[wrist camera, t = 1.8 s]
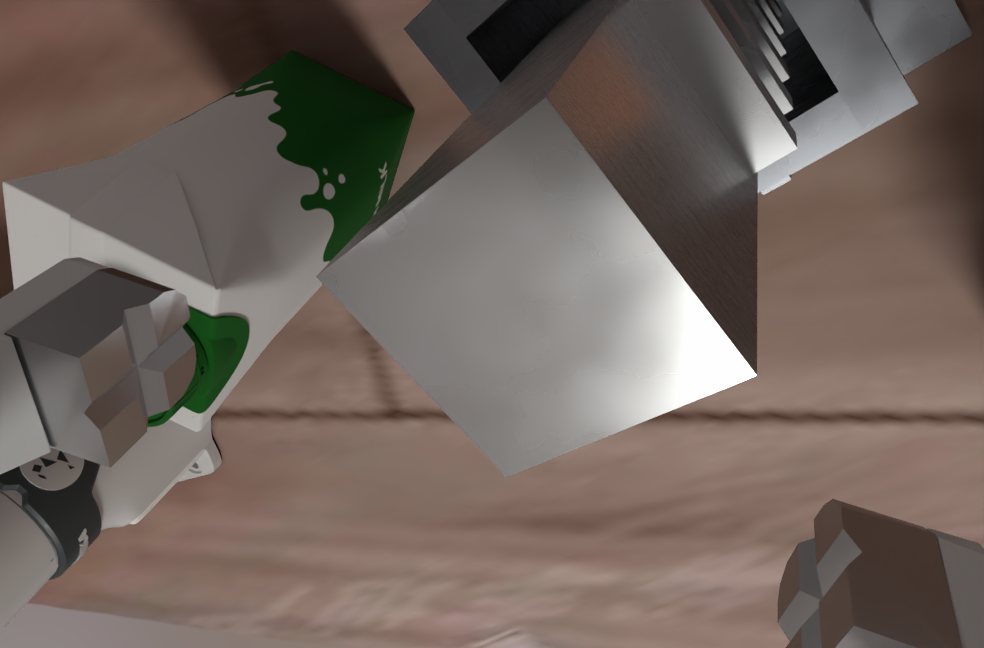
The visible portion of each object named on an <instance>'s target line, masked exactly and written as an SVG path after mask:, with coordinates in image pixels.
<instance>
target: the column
mask: <svg viewBox="0 0 984 648" xmlns="http://www.w3.org/2000/svg"><path fill="white" fill-rule="evenodd" d="M778 1H779V0H579V2H578V3H577V4H576V5H575V6H574V7H573V8H572V9H571V10H570V11H569V12H568V13H567V14H566V15H565V16H564V17H563V18H562V19H561V20H560V21H559V22H558V24H557V25H556V26H555V27H554V28H553V29H552V30H551V31H550V32H549V33H548V34H547V35H546V36H545V37H544V38H543V39H542V40H541V41H540V42H539V43H538V44H537V45H536V47H535V48H534V49H533V50H532V51H531V52H530V53H529V54H528V55H527V56H526V57H525V58H524V59H523V60H522V61H521V62H520V63H519V64H518V65H517V66H516V67H515V69H514V70H513V71H512V72H511V73H510V74H509V75H508V76H507V77H506V78H505V79H504V80H503V81H502V82H501V83H500V84H499V85H498V86H497V87H496V88H495V89H494V91H493V92H492V93H491V94H490V95H489V96H488V97H487V98H486V99H485V100H484V101H483V102H482V103H481V104H480V105H479V106H478V107H477V108H476V109H475V110H474V111H473V113H472V114H471V115H470V116H469V117H468V118H467V119H466V120H465V121H464V122H463V123H462V124H461V125H460V126H459V127H458V128H457V129H456V130H455V131H454V132H453V133H452V135H451V136H450V137H449V138H448V139H447V140H446V141H445V142H444V143H443V144H442V145H441V146H440V147H439V148H438V149H437V150H436V151H435V152H434V153H433V154H432V155H431V156H430V158H429V159H428V160H427V161H426V162H425V163H424V164H423V165H422V166H421V167H420V168H419V169H418V170H417V171H416V172H415V173H414V174H413V175H412V176H411V177H410V178H409V180H408V181H407V182H406V183H405V184H404V185H403V186H402V187H401V188H400V189H399V190H398V191H397V192H396V193H395V194H394V195H393V196H392V197H391V198H390V199H389V200H388V202H387V203H386V204H385V205H384V206H383V207H382V208H381V209H380V210H379V211H378V212H377V213H376V214H375V215H374V216H373V217H372V218H371V219H370V220H369V221H368V222H367V224H366V225H365V226H364V227H363V228H362V229H361V230H360V231H359V232H358V233H357V234H356V235H355V236H354V237H353V238H352V239H351V240H350V241H349V242H348V243H347V244H346V246H345V247H344V248H343V249H342V250H341V251H340V252H339V253H338V254H337V255H336V256H335V257H334V258H333V259H332V260H331V261H330V262H329V263H328V264H327V265H326V266H325V267H324V269H323V270H322V271H321V272H320V273H319V274H318V275H317V276H316V277H317V278H318V279H319V280H320V281H321V283H322V284H323V285H324V286H325V287H326V288H327V289H328V290H329V291H330V292H331V293H332V294H333V295H334V296H335V297H336V298H337V299H338V300H339V302H340V303H341V304H342V305H343V306H344V307H345V308H346V309H347V310H348V311H349V312H350V313H351V314H352V315H353V316H354V317H355V318H356V319H357V320H358V322H359V323H360V324H361V325H362V326H363V327H364V328H365V329H366V330H367V331H368V332H369V333H370V334H371V335H372V336H373V337H374V338H375V339H376V340H377V342H378V343H379V344H380V345H381V346H382V347H383V348H384V349H385V350H386V351H387V352H388V353H389V354H390V355H391V356H392V357H393V358H394V359H395V360H396V362H397V363H398V364H399V365H400V366H401V367H402V368H403V369H404V370H405V371H406V372H407V373H408V374H409V375H410V376H411V377H412V378H413V379H414V380H415V382H416V383H417V384H418V385H419V386H420V387H421V388H422V389H423V390H424V391H425V392H426V393H427V394H428V395H429V396H430V397H431V398H432V399H433V400H434V402H435V403H436V404H437V405H438V406H439V407H440V408H441V409H442V410H443V411H444V412H445V413H446V414H447V415H448V416H449V417H450V418H451V419H452V420H453V422H454V423H455V424H456V425H457V426H458V427H459V428H460V429H461V430H462V431H463V432H464V433H465V434H466V435H467V436H468V437H469V438H470V439H471V440H472V442H473V443H474V444H475V445H476V446H477V447H478V448H479V449H480V450H481V451H482V452H483V453H484V454H485V455H486V456H487V457H488V458H489V459H490V460H491V462H492V463H493V464H494V465H495V466H496V467H497V468H498V469H499V470H500V471H501V472H502V473H503V474H504V475H505V476H506V477H508V476H511V475H513V474H516V473H518V472H521V471H523V470H526V469H528V468H530V467H533V466H535V465H538V464H540V463H543V462H545V461H548V460H550V459H553V458H555V457H558V456H560V455H563V454H565V453H567V452H570V451H572V450H575V449H577V448H580V447H582V446H585V445H587V444H590V443H592V442H595V441H597V440H600V439H602V438H605V437H607V436H609V435H612V434H614V433H617V432H619V431H622V430H624V429H627V428H629V427H632V426H634V425H637V424H639V423H642V422H644V421H646V420H649V419H651V418H654V417H656V416H659V415H661V414H664V413H666V412H669V411H671V410H674V409H676V408H679V407H681V406H683V405H686V404H688V403H691V402H693V401H696V400H698V399H701V398H703V397H706V396H708V395H711V394H713V393H716V392H718V391H720V390H723V389H725V388H728V387H730V386H733V385H735V384H738V383H740V382H743V381H745V380H748V379H750V378H753V377H755V376H757V218H758V171H760V170H761V169H763V168H765V167H767V166H768V165H770V164H772V163H773V162H775V161H777V160H779V159H780V158H782V157H784V156H786V155H787V154H789V153H791V152H792V151H794V150H796V149H798V147H797V138H796V133H795V131H794V129H793V128H792V126H791V125H790V123H789V122H788V120H787V119H786V117H785V116H784V114H786V113H788V112H789V111H791V110H792V109H793V103H792V97H791V95H790V94H789V92H788V90H787V89H786V87H785V86H784V84H783V83H782V82H784V81H786V80H787V79H789V78H790V77H789V69H788V67H787V65H786V64H785V62H784V60H783V59H782V57H781V56H782V55H784V54H786V53H787V51H786V44H785V43H784V41H783V40H782V38H781V36H780V34H782V33H783V32H784V25H783V24H782V22H781V20H780V19H779V16H781V15H782V9H781V7H780V5H779V4H778Z"/></svg>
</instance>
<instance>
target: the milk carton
mask: <svg viewBox="0 0 984 648" xmlns="http://www.w3.org/2000/svg"><path fill="white" fill-rule="evenodd" d="M413 115H414V110H413V109H411V108H409V107H407V106H405V105H402V104H400V103H398V102H396V101H394V100H392V99H390V98H388V97H386V96H384V95H382V94H380V93H378V92H376V91H374V90H372V89H370V88H368V87H366V86H364V85H362V84H360V83H358V82H356V81H353V80H351V79H349V78H347V77H345V76H343V75H341V74H339V73H337V72H335V71H333V70H331V69H329V68H327V67H325V66H323V65H321V64H319V63H317V62H315V61H313V60H311V59H309V58H307V57H305V56H303V55H300V54H298V53H296V52H294V51H290V52H289V53H287V54H286V55H285V56H283V57H282V58H280V59H279V60H277V61H276V62H275V63H273V64H272V65H270V66H269V67H267V68H266V69H264V70H263V71H261V72H260V73H259V74H257V75H256V76H254V77H253V78H251V79H250V80H248V81H247V82H245V83H244V84H243V85H241V86H240V87H238V88H237V89H235V90H234V91H232V92H231V93H230V94H228V95H226V96H224V97H222V98H221V99H219V100H217V101H215V102H213V103H211V104H209V105H208V106H206V107H204V108H202V109H200V110H198V111H196V112H194V113H193V114H191V115H189V116H187V117H185V118H183V119H181V120H179V121H178V122H176V123H174V124H172V125H170V126H168V127H166V128H164V129H162V130H161V131H159V132H157V133H155V134H153V135H151V136H149V137H147V138H145V139H144V140H142V141H140V142H138V143H136V144H134V145H132V146H130V147H128V148H127V149H125V150H123V151H121V152H119V153H117V154H115V155H113V156H111V157H108V158H104V159H100V160H96V161H91V162H87V163H83V164H78V165H74V166H70V167H65V168H61V169H57V170H52V171H48V172H44V173H39V174H35V175H31V176H26V177H22V178H18V179H13V180H9V181H4V182H3V194H4V203H5V212H6V222H7V231H8V240H9V249H10V259H11V268H12V277H13V286H14V290H15V289H17V288H18V287H20V286H22V285H23V284H25V283H26V282H28V281H30V280H31V279H33V278H34V277H36V276H38V275H39V274H41V273H42V272H44V271H46V270H47V269H49V268H51V267H52V266H54V265H55V264H57V263H59V262H60V261H62V260H63V259H67V258H76V257H81V258H84V259H86V260H89V261H92V262H95V263H98V264H100V265H103V266H106V267H109V268H115V269H117V270H120V271H123V272H126V273H129V274H132V275H135V276H138V277H141V278H143V279H146V280H149V281H152V282H155V283H158V284H161V285H164V286H166V287H169V288H172V289H175V290H177V291H179V292H180V293H182V294H183V295H185V296H186V298H187V303H188V307H189V312H190V318H189V320H188V321H187V322H186V323H185V324H184V326H183V329H184V330H185V331H186V333H187V334H188V335H189V337H190V338H191V340H192V341H193V342H194V344H195V350H196V358H197V359H196V366H195V373H194V376H193V378H192V380H191V382H190V384H189V386H188V388H187V390H186V392H185V394H184V395H183V396H182V397H181V398H180V399H179V400H178V401H177V402H176V403H175V405H174V406H173V407H172V408H171V409H169V410H166V411H164V412H161V413H158V414H155V415H152V416H150V417H148V424H147V427H155V426H159V425H162V424H164V423H165V422H167V421H168V420H169V419H170V420H172V421H174V422H176V423H178V424H180V425H182V426H184V427H186V428H188V429H191V430H193V431H195V432H198V431H200V430H202V428H203V427H204V426H205V425H206V423H207V422H208V421H209V419H210V418H211V417H212V415H213V414H214V413H215V412H216V410H217V409H218V408H219V406H220V405H221V404H222V402H223V401H224V400H225V399H226V397H227V396H228V395H229V393H230V392H231V391H232V390H233V388H234V387H235V386H236V384H237V383H238V382H239V381H240V379H241V378H242V377H243V376H244V374H245V373H246V372H247V370H248V369H249V368H250V367H251V365H252V364H253V363H254V361H255V360H256V359H257V358H258V356H259V355H260V354H261V353H262V351H263V350H264V349H265V348H266V346H267V345H268V344H269V343H270V341H271V340H272V339H273V338H274V337H275V336H276V334H277V333H278V332H279V331H280V330H281V329H282V328H283V327H284V326H285V325H286V324H287V322H288V321H289V320H290V319H291V318H292V317H293V316H294V315H295V314H296V313H297V312H298V311H299V309H300V308H301V307H302V306H303V305H304V304H305V303H306V302H307V301H308V300H309V299H310V298H311V296H312V295H313V294H314V293H315V292H316V291H317V290H318V289H319V288H320V287H321V286H322V285H323V284H322V283H321V281H320V280H319V279H318V278H317V277H316V276H317V275H318V274H319V273H320V272H321V271H322V270H323V269H324V267H325V266H326V265H327V264H328V263H329V262H330V261H331V260H332V259H333V258H334V257H335V256H336V255H337V254H338V253H339V252H340V251H341V250H342V249H343V248H344V247H345V246H346V244H347V243H348V242H349V241H350V240H351V239H352V238H353V237H354V236H355V235H356V234H357V233H358V232H359V231H360V230H361V229H362V228H363V227H364V226H365V225H366V224H367V222H368V221H369V220H370V219H371V218H372V217H373V216H374V215H375V214H376V213H377V212H378V211H379V210H380V209H381V208H382V207H383V206H384V205H385V204H386V203H387V201H388V197H389V194H390V191H391V187H392V184H393V181H394V178H395V174H396V171H397V168H398V164H399V161H400V158H401V154H402V151H403V148H404V145H405V141H406V138H407V135H408V131H409V128H410V125H411V121H412V118H413Z"/></svg>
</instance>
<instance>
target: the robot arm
mask: <svg viewBox="0 0 984 648" xmlns="http://www.w3.org/2000/svg"><path fill="white" fill-rule="evenodd" d="M189 318H190V312H189V307H188V303H187V298H186V296H185V295H183V294H182V293H180V292H179V291H177V290H175V289H172V288H169V287H166V286H164V285H161V284H158V283H155V282H152V281H149V280H146V279H143V278H141V277H138V276H135V275H132V274H129V273H126V272H123V271H120V270H117V269H115V268H109V267H106V266H103V265H100V264H98V263H95V262H92V261H89V260H86V259H84V258H81V257H76V258H67V259H63V260H62V261H60V262H59V263H57V264H55V265H54V266H52V267H51V268H49V269H47V270H46V271H44V272H42V273H41V274H39V275H38V276H36V277H34V278H33V279H31V280H30V281H28V282H26V283H25V284H23V285H22V286H20V287H18V288H17V289H15V290H13V291H12V292H10V293H9V294H7V295H5V296H4V297H2V298H1V299H0V632H1V631H2V630H3V629H4V628H5V627H6V626H7V625H8V624H9V622H10V621H11V620H12V619H13V618H14V617H15V616H16V615H17V614H18V612H19V611H20V610H21V609H22V608H23V607H24V606H25V605H26V604H27V603H28V601H29V600H30V599H31V598H32V597H33V596H34V595H35V594H36V593H37V592H38V591H39V589H40V588H41V587H42V586H43V585H44V584H45V583H46V582H47V581H48V580H50V579H55V578H57V577H59V576H61V575H62V574H63V573H64V572H65V571H66V570H67V569H68V568H69V567H70V566H71V565H72V564H75V563H76V562H77V561H78V560H79V559H80V558H81V557H82V556H83V555H84V553H85V552H86V550H87V548H88V547H89V546H90V545H91V544H92V543H93V541H94V540H95V539H96V538H97V537H98V536H99V534H100V532H101V530H103V529H106V528H110V527H123V526H125V525H127V524H136V523H137V522H139V521H140V520H141V519H142V518H143V517H144V516H145V515H146V514H147V513H148V512H149V511H150V510H151V509H152V508H153V507H154V506H155V505H156V504H157V502H158V501H159V500H160V499H161V498H162V497H163V496H164V495H165V494H166V493H167V492H168V491H169V490H170V489H171V488H172V487H173V486H174V484H175V483H176V482H179V481H183V480H187V479H191V478H195V477H199V476H203V475H207V474H210V473H212V472H213V471H215V470H216V469H217V468H218V467H219V466H220V465H221V457H220V454H219V452H218V449H217V447H216V445H215V443H214V441H213V439H212V434H211V418H210V419H209V421H208V422H207V423H206V425H205V426H204V427H203V428H202V430H200V431H198V432H195V431H193V430H191V429H188V428H186V427H184V426H182V425H180V424H178V423H176V422H174V421H172V420H170V419H169V420H168V421H167V422H165V423H164V424H162V425H159V426H155V427H147V424H148V417H150V416H152V415H155V414H158V413H161V412H164V411H166V410H169V409H171V408H172V407H173V406H174V405H175V403H176V402H177V401H178V400H179V399H180V398H181V397H182V396H183V395H184V394H185V392H186V390H187V388H188V386H189V384H190V382H191V380H192V378H193V376H194V373H195V366H196V359H197V358H196V350H195V344H194V342H193V341H192V340H191V338H190V337H189V335H188V334H187V333H186V331H185V330H184V329H183V326H184V324H185V323H186V322H187V321H188V320H189ZM814 532H815V538H813V539H810V540H807V541H804V542H801V543H799V544H798V545H797V546H796V548H795V550H794V551H793V553H792V555H791V556H790V558H789V560H788V562H787V564H786V567H785V570H784V574H783V577H782V580H781V583H780V589H779V597H778V623H779V625H780V627H781V628H782V630H783V631H784V633H785V635H786V636H787V638H788V639H789V641H790V642H789V644H788V645H787V647H786V648H984V549H983V547H982V546H981V545H980V544H979V543H976V542H973V541H969V540H966V539H963V538H959V537H956V536H953V535H950V534H946V533H943V532H940V531H936V530H933V529H930V528H929V529H926V528H924V527H922V526H919V525H915V524H912V523H909V522H906V521H903V520H899V519H896V518H893V517H890V516H886V515H883V514H880V513H877V512H874V511H870V510H867V509H864V508H861V507H857V506H854V505H851V504H848V503H845V502H841V501H838V500H835V499H832V500H830V501H829V502H827V503H826V504H825V505H823V507H822V508H821V510H820V511H819V513H818V514H817V516H816V517H815V519H814Z"/></svg>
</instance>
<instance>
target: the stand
mask: <svg viewBox="0 0 984 648" xmlns="http://www.w3.org/2000/svg"><path fill="white" fill-rule="evenodd" d="M578 2H579V0H432V1H431V2H430V3H429V4H428V5H427V6H426V7H425V8H424V9H423V10H422V11H421V12H420V13H419V14H418V15H417V16H416V17H415V18H414V19H413V20H412V21H411V22H410V23H409V24H408V25H407V26H406V27H405V28H404V30H405V31H406V32H407V34H408V35H409V36H410V37H411V39H412V40H413V41H414V42H415V44H416V45H417V46H418V47H419V49H420V50H421V51H422V52H423V54H424V55H425V56H426V57H427V59H428V60H429V61H430V62H431V64H432V65H433V66H434V67H435V69H436V70H437V71H438V72H439V74H440V75H441V76H442V77H443V79H444V80H445V81H446V82H447V84H448V85H449V86H450V87H451V89H452V90H453V91H454V92H455V94H456V95H457V96H458V97H459V99H460V100H461V101H462V102H463V104H464V105H465V106H466V107H467V109H468V110H469V111H470V112H471V114H472V113H473V111H474V110H475V109H476V108H477V107H478V106H479V105H480V104H481V103H482V102H483V101H484V100H485V99H486V98H487V97H488V96H489V95H490V94H491V93H492V92H493V91H494V89H495V88H496V87H497V86H498V85H499V84H500V83H501V82H502V81H503V80H504V79H505V78H506V77H507V76H508V75H509V74H510V73H511V72H512V71H513V70H514V69H515V67H516V66H517V65H518V64H519V63H520V62H521V61H522V60H523V59H524V58H525V57H526V56H527V55H528V54H529V53H530V52H531V51H532V50H533V49H534V48H535V47H536V45H537V44H538V43H539V42H540V41H541V40H542V39H543V38H544V37H545V36H546V35H547V34H548V33H549V32H550V31H551V30H552V29H553V28H554V27H555V26H556V25H557V24H558V22H559V21H560V20H561V19H562V18H563V17H564V16H565V15H566V14H567V13H568V12H569V11H570V10H571V9H572V8H573V7H574V6H575V5H576V4H577V3H578ZM778 4H779V5H780V7H781V9H782V15H781V16H779V19H780V20H781V22H782V24H783V25H784V32H783V33H782V34H780V36H781V38H782V40H783V41H784V43H785V44H786V51H787V53H786V54H784V55H782V56H781V57H782V59H783V60H784V62H785V64H786V65H787V67H788V69H789V77H790V78H789V79H787V80H786V81H784V82H782V83H783V84H784V86H785V87H786V89H787V90H788V92H789V94H790V95H791V97H792V103H793V109H792V110H791V111H789V112H788V113H786V114H784V116H785V117H786V119H787V120H788V122H789V123H790V125H791V126H792V128H793V129H794V131H795V133H796V138H797V147H798V149H796V150H794V151H792V152H791V153H789V154H787V155H786V156H784V157H782V158H780V159H779V160H777V161H775V162H773V163H772V164H770V165H768V166H767V167H765V168H763V169H761V170H760V171H758V193H759V192H762V194H763V195H764V194H766V193H768V192H770V191H772V190H773V189H775V188H777V187H779V186H781V185H782V184H784V183H786V182H788V181H790V180H791V174H793V173H795V172H797V171H798V170H800V169H802V168H804V167H806V166H807V165H809V164H811V163H813V162H815V161H816V160H818V159H820V158H822V157H823V156H825V155H827V154H829V153H831V152H832V151H834V150H836V149H838V148H840V147H841V146H843V145H845V144H847V143H849V142H850V141H852V140H854V139H856V138H857V137H859V136H861V135H863V134H865V133H866V132H868V131H870V130H872V129H874V128H875V127H877V126H879V125H881V124H882V123H884V122H886V121H888V120H890V119H891V118H893V117H895V116H897V115H899V114H900V113H902V112H904V111H906V110H908V109H909V108H911V107H913V106H915V105H916V104H918V102H917V100H916V98H915V96H914V94H913V92H912V91H911V89H910V87H909V85H908V83H907V81H906V80H905V78H904V76H903V75H905V74H907V73H909V72H910V71H912V70H914V69H915V68H917V67H919V66H921V65H922V64H924V63H926V62H927V61H929V60H931V59H932V58H934V57H936V56H938V55H939V54H941V53H943V52H944V51H946V50H948V49H950V48H951V47H953V46H955V45H956V44H958V43H960V42H961V41H963V40H965V39H967V38H968V37H970V36H972V35H973V34H972V32H971V30H970V28H969V27H968V25H967V23H966V21H965V19H964V17H963V15H962V14H961V12H960V10H959V8H958V6H957V4H956V2H955V1H954V0H779V1H778Z"/></svg>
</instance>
